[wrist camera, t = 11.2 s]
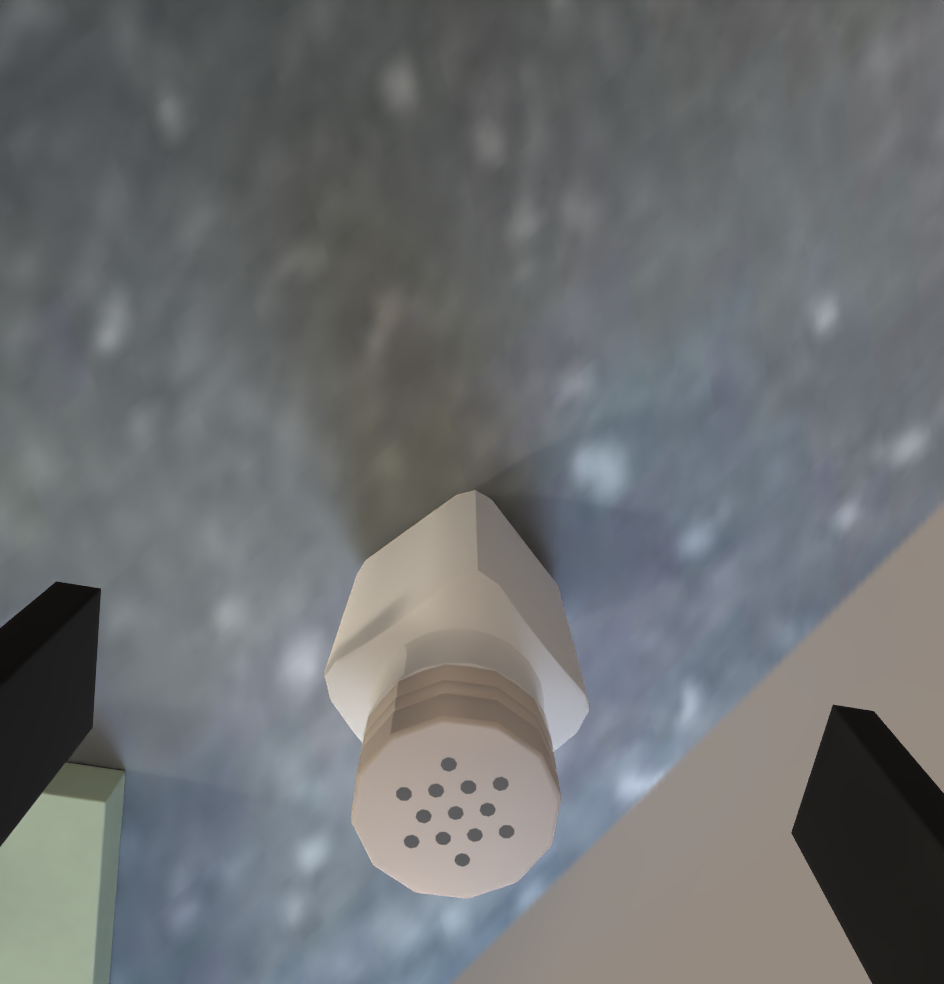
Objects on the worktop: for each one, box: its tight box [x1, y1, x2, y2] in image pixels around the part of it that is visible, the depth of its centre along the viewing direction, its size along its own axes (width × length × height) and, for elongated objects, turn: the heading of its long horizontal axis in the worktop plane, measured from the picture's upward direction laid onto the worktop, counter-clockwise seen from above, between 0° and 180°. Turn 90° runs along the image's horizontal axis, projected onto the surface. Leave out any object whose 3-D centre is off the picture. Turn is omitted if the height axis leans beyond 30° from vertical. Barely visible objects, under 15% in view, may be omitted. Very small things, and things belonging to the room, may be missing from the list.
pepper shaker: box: [324, 490, 590, 899], centre depth 18 cm, size 4×4×10 cm
